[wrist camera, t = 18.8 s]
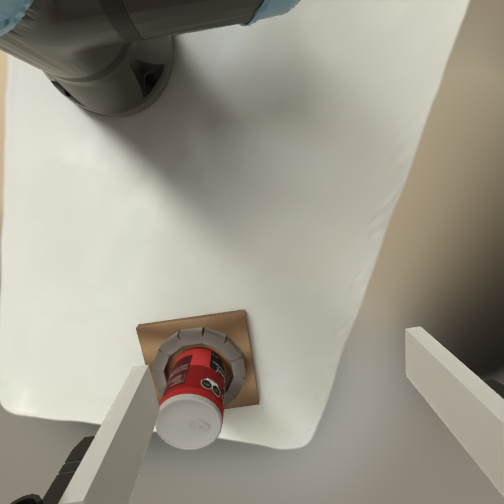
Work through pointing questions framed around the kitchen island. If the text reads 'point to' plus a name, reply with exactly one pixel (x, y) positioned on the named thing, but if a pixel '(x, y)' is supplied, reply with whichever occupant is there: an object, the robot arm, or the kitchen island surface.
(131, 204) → the kitchen island surface
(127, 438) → the robot arm
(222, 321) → the socket board
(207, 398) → the canned food
